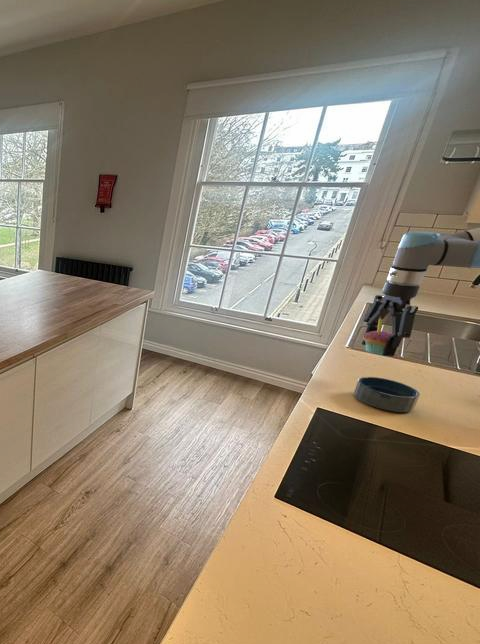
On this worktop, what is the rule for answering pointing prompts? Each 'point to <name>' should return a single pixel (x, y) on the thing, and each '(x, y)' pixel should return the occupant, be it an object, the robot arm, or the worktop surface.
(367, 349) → the cupcake
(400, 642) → the worktop surface
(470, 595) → the worktop surface
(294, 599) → the worktop surface
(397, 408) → the bowl
